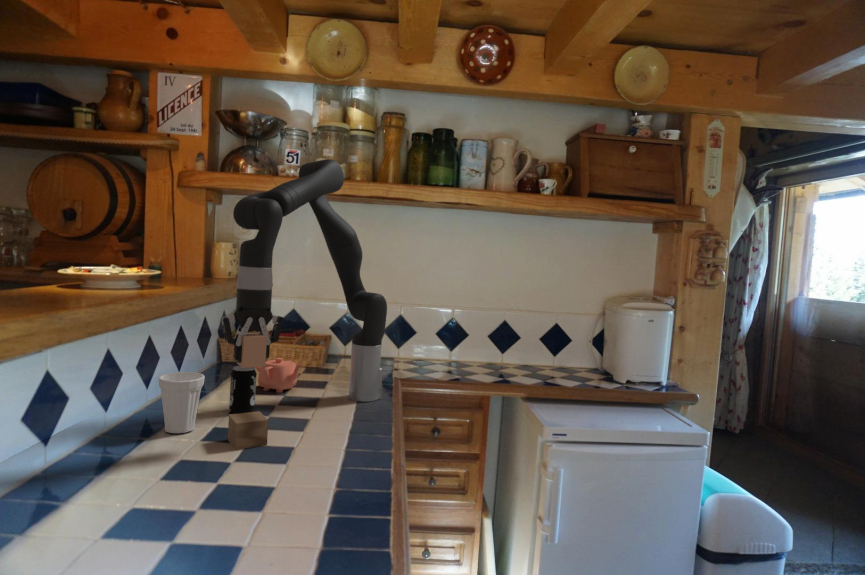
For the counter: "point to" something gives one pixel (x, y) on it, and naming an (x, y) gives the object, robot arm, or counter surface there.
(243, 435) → the base block
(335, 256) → the robot arm
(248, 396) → the beverage can
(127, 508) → the counter surface
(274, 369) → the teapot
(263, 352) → the tan cardboard cube
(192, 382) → the cup
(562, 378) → the counter surface
